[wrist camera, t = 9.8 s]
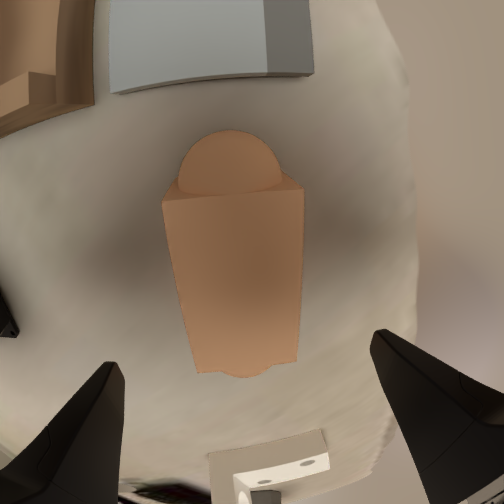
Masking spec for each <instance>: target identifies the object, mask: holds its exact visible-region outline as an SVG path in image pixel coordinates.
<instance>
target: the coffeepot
mask: <svg viewBox="0 0 504 504" xmlns="http://www.w3.org/2000/svg"><path fill="white" fill-rule="evenodd" d="M250 494H251V500H252V504H281V493H280V492H278V491H273V490H263V491H253V492H250Z"/></svg>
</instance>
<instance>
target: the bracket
mask: <svg viewBox="0 0 504 504" xmlns="http://www.w3.org/2000/svg"><path fill="white" fill-rule="evenodd" d="M208 456H209V472H210V485H211V498H212V504H252V500H251V494H250V488H254V487H259V486H265V485H270V484H275V483H280V482H284V481H288V480H292V479H297V478H300V477H304V476H308V475H311V474H315V473H318V472H322V471H325V470H328V469H330V465H329V457H328V451H327V448H326V445H325V442H324V439H323V436H322V433H321V430H320V429H317V430H314V431H310V432H307V433H304V434H300V435H297V436H293V437H289V438H286V439H282V440H278V441H273V442H269V443H265V444H260V445H256V446H251V447H246V448H240V449H235V450H229V451H223V452H216V453H209V454H208Z"/></svg>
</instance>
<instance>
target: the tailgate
mask: <svg viewBox="0 0 504 504" xmlns="http://www.w3.org/2000/svg"><path fill="white" fill-rule="evenodd" d="M312 74H314V60H313V45H312V32H311V20H310V10H309V0H110V16H109V81H110V93H111V94H125V93H129V92H133V91H138V90H143V89H148V88H153V87H159V86H165V85H171V84H177V83H184V82H192V81H200V80H209V79H220V78H234V77H254V76H303V77H309V76H310V75H312Z"/></svg>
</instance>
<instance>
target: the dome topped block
mask: <svg viewBox="0 0 504 504" xmlns="http://www.w3.org/2000/svg"><path fill="white" fill-rule="evenodd" d="M161 205H162V211H163V218H164V224H165V230H166V236H167V241H168V247H169V252H170V258H171V263H172V268H173V273H174V278H175V283H176V287H177V292H178V297H179V301H180V306H181V310H182V314H183V318H184V323H185V327H186V331H187V335H188V339H189V343H190V347H191V351H192V354H193V358H194V362H195V366H196V369H197V373H206V372H218V371H222V372H224V373H225V374H228V375H230V376H233V377H239V378H248V377H253V376H256V375H259V374H261V373H263V372H264V371H266V370H267V369H268V368H269V367H271V366H272V365H277V364H284V363H290V362H296V361H297V350H298V337H299V323H300V308H301V290H302V269H303V241H304V188H302V187H301V186H300V185H299V184H297V183H296V182H295V181H294V180H293V179H291V178H290V177H289V176H288V175H286V174H285V173H284V172H283V171H281V169H280V166H279V163H278V160H277V158H276V156H275V155H274V153H273V152H272V150H271V149H270V148H269V147H268V146H267V145H266V144H265V143H264V142H263V141H261V140H260V139H259V138H257V137H255V136H254V135H251V134H249V133H246V132H242V131H236V130H225V131H219V132H215V133H212V134H210V135H207V136H205V137H204V138H202V139H200V140H199V141H198V142H197V143H195V144H194V145H193V146H192V147H191V148H190V150H189V151H188V152H187V154H186V155H185V157H184V159H183V161H182V164H181V166H180V170H179V175H178V177H176V178H175V179H174V181H173V183H172V184H171V186H170V188H169V189H168V191H167V193H166V194H165V196H164V198H163V199H162V201H161Z"/></svg>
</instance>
